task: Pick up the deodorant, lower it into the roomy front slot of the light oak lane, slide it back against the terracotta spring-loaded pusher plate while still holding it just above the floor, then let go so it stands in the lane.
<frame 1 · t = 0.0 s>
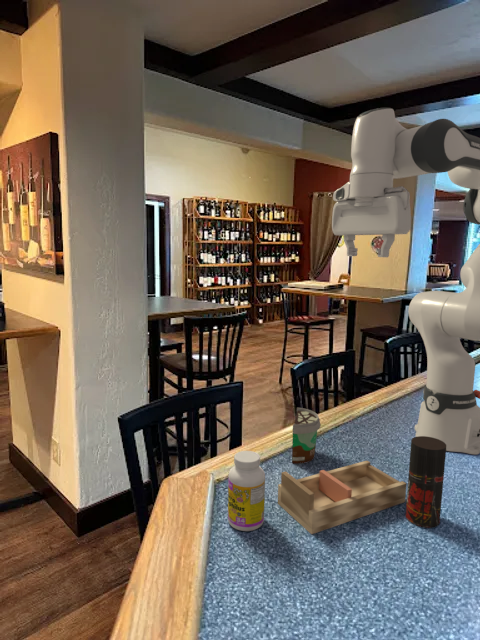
hand: (366, 256, 99), 48 cm above the bar counter, tool pointing down, fingers open, 8 cm apart
pusher plate: (334, 489, 90), point 3 cm above the bar counter, slide at 0.0 cm
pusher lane: (341, 502, 91), on the bar counter
food container: (306, 456, 111), on the bar counter
supplement bottle: (245, 522, 84), on the bar counter
deodorant: (422, 519, 86), on the bar counter
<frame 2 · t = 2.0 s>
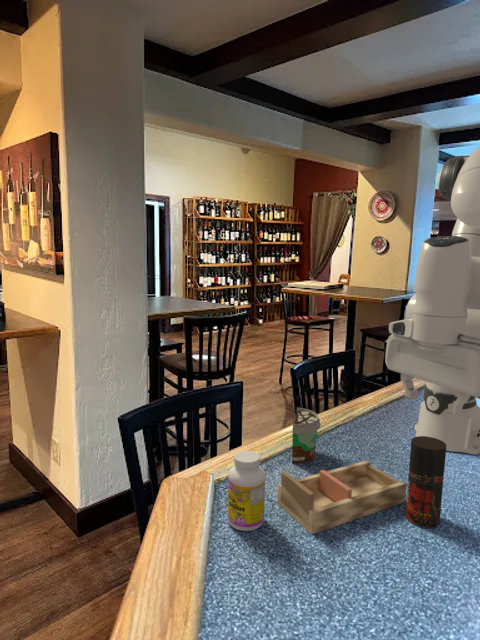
hand: (431, 406, 82), 22 cm above the bar counter, tool pointing down, fingers open, 8 cm apart
nothing on the bar counter moved.
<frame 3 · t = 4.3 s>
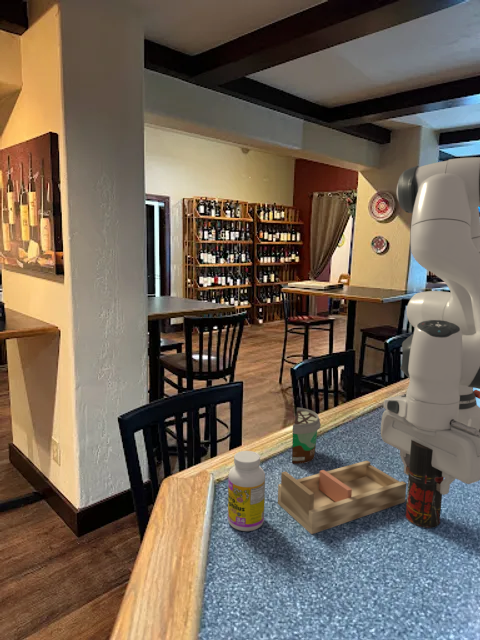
hand: (425, 483, 85), 7 cm above the bar counter, tool pointing down, fingers closed on deodorant, 6 cm apart
deodorant: (422, 519, 86), on the bar counter, touching gripper
everything else where it was.
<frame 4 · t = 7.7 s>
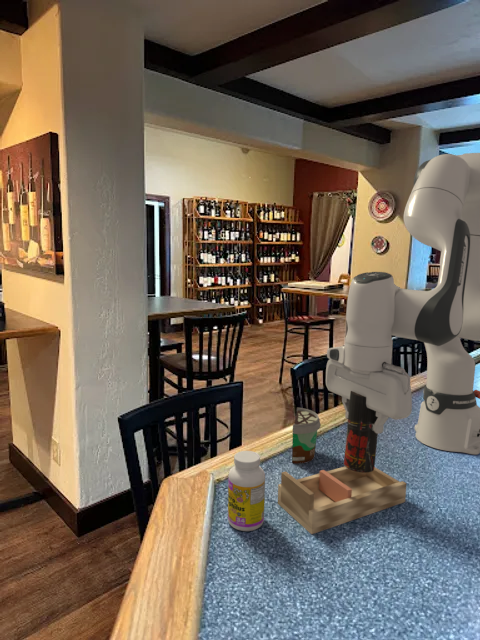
hand: (363, 425, 91), 15 cm above the bar counter, tool pointing down, fingers closed on deodorant, 6 cm apart
deodorant: (358, 466, 92), point 7 cm above the bar counter, touching gripper
everything else where it was.
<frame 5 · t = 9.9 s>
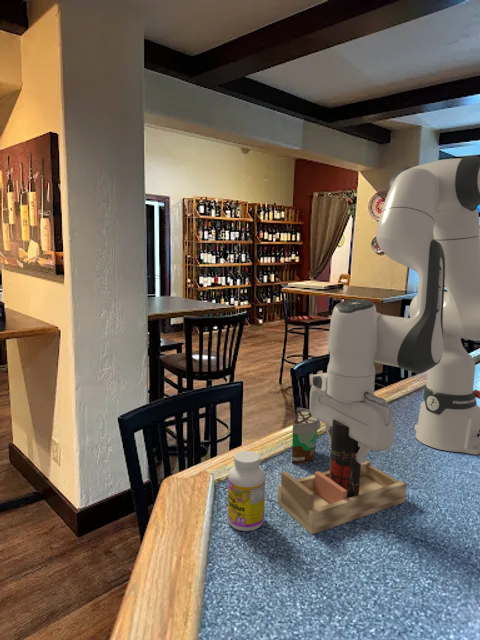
hand: (346, 454, 90), 10 cm above the bar counter, tool pointing down, fingers closed on deodorant, 6 cm apart
pusher plate: (329, 490, 89), point 3 cm above the bar counter, slide at 1.2 cm
deodorant: (343, 495, 91), point 2 cm above the bar counter, touching gripper
everything else where it was.
when the fingers open (10 cm above the bar counter, at t = 11.1 s): deodorant stays where it is, resting on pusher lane, pusher plate.
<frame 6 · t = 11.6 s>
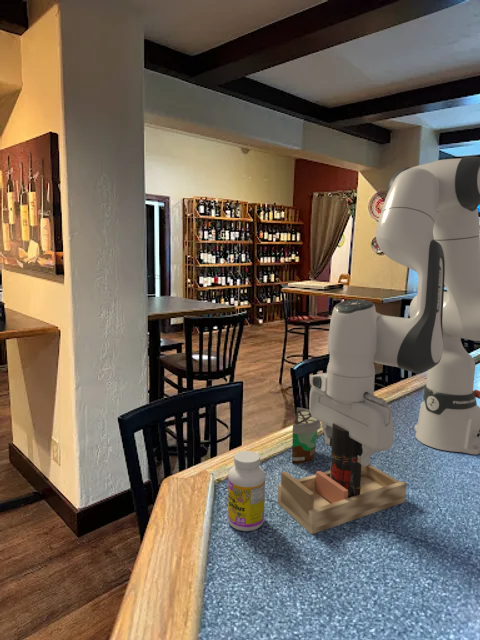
hand: (346, 454, 90), 10 cm above the bar counter, tool pointing down, fingers open, 8 cm apart
pusher plate: (330, 490, 89), point 3 cm above the bar counter, slide at 0.9 cm, touching deodorant
deodorant: (344, 498, 91), point 1 cm above the bar counter, touching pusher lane, pusher plate
everything else where it was.
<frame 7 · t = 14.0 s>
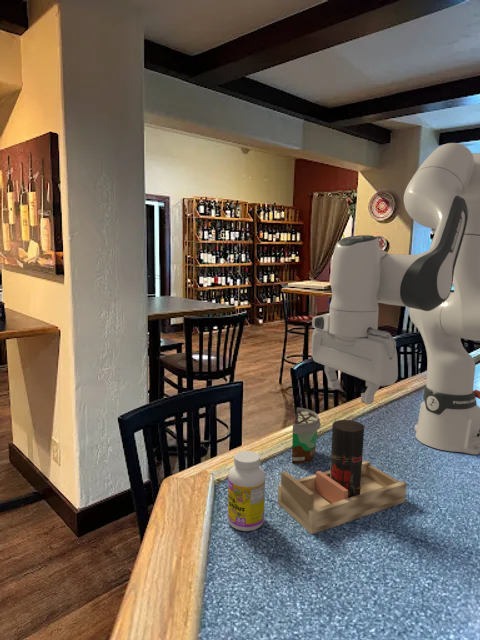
hand: (349, 395, 88), 22 cm above the bar counter, tool pointing down, fingers open, 8 cm apart
pusher plate: (330, 490, 89), point 3 cm above the bar counter, slide at 0.9 cm
deodorant: (344, 498, 91), point 1 cm above the bar counter, touching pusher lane
everything else where it was.
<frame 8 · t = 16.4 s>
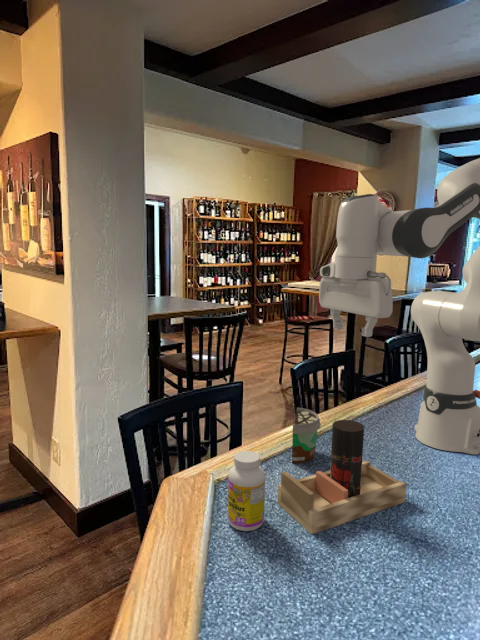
hand: (351, 332, 103), 31 cm above the bar counter, tool pointing down, fingers open, 8 cm apart
nothing on the bar counter moved.
at the end: deodorant inside the target area (3.0 cm from its centre), point 0.8 cm above the bar counter; deodorant tilted 0°; the gripper is holding nothing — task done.
